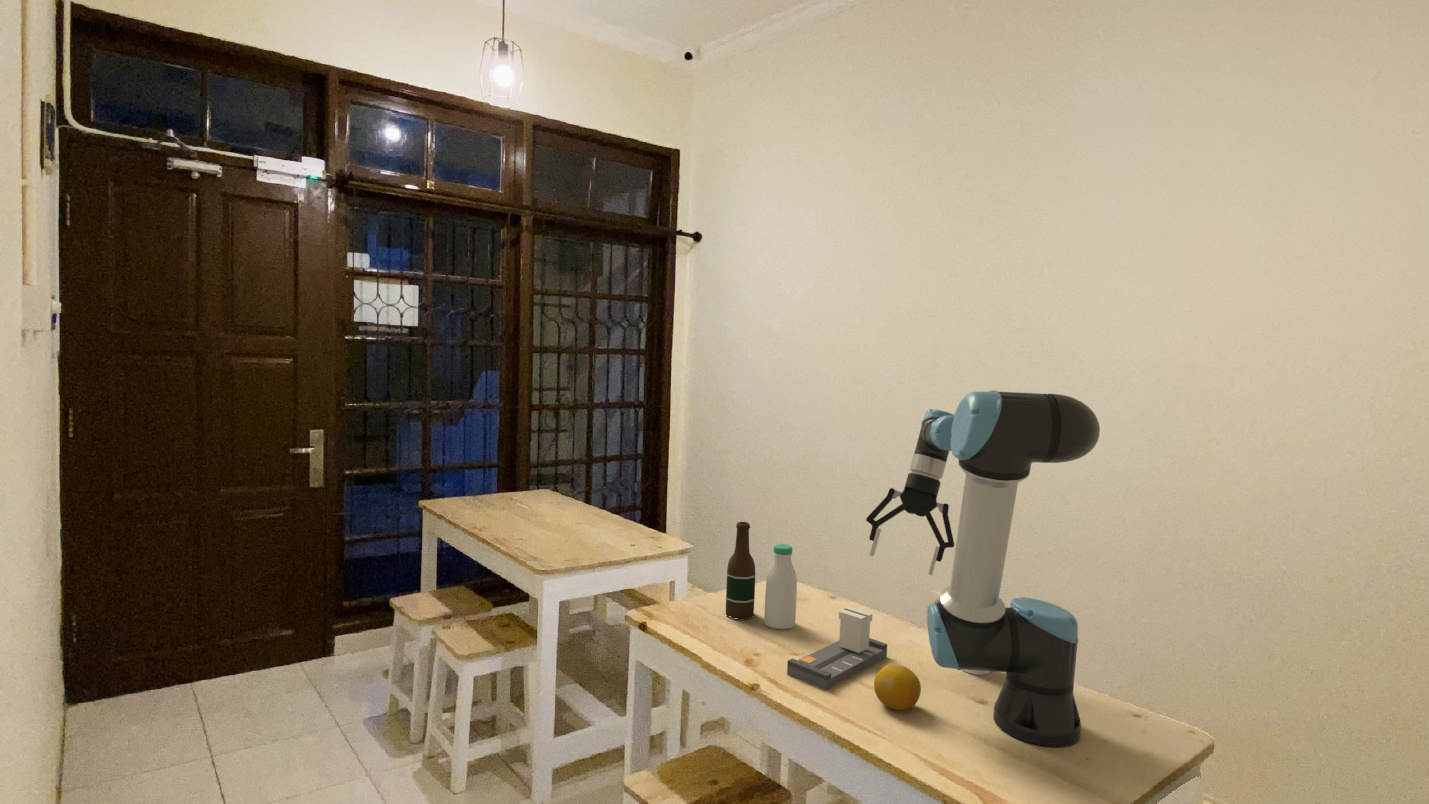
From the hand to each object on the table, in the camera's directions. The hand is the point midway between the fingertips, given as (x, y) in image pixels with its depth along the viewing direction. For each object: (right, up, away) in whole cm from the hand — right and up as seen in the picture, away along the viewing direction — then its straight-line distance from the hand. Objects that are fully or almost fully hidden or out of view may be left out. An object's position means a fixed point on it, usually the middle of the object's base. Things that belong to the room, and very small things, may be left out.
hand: (900, 565), depth 175 cm
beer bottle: (-36, -17, +21) cm, 45 cm away
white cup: (+15, -22, -7) cm, 27 cm away
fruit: (-7, -22, -26) cm, 35 cm away
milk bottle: (-27, -18, +15) cm, 35 cm away
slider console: (-16, -20, -8) cm, 27 cm away
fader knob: (-11, -18, -4) cm, 21 cm away
